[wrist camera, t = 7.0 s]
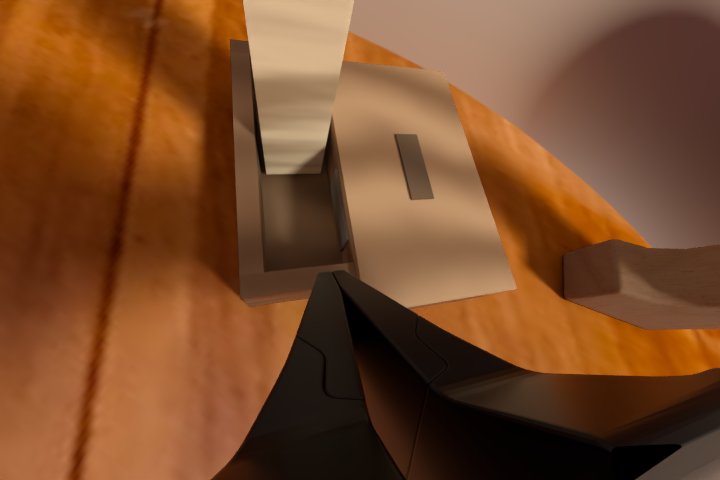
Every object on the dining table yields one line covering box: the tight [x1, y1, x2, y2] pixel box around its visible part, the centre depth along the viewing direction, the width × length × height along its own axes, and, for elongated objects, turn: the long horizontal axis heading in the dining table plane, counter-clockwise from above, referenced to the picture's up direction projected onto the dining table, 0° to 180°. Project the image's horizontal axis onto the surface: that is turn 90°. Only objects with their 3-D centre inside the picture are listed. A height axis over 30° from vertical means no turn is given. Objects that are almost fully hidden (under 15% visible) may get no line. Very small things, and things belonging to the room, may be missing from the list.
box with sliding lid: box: [230, 39, 517, 309], centre depth 20 cm, size 20×16×5 cm
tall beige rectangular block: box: [243, 0, 354, 174], centre depth 13 cm, size 5×4×19 cm
